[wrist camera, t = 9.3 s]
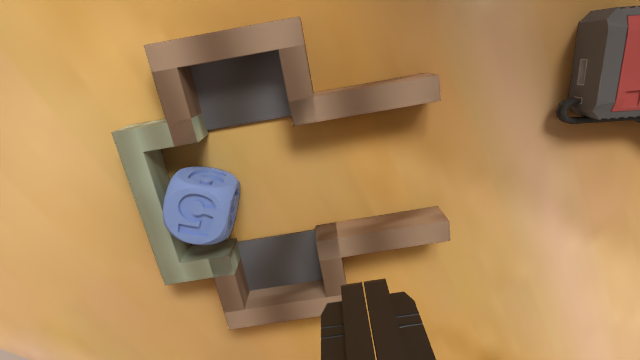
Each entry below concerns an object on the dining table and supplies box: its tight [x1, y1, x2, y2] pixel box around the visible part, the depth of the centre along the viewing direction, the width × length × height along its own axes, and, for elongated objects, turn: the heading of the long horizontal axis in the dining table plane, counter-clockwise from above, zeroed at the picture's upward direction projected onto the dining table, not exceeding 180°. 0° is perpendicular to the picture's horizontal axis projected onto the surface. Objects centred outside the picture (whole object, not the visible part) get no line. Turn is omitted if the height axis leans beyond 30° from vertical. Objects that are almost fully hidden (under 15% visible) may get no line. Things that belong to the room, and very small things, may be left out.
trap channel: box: [112, 17, 450, 330], centre depth 26 cm, size 20×20×2 cm
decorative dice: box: [163, 166, 240, 245], centre depth 26 cm, size 4×4×4 cm
